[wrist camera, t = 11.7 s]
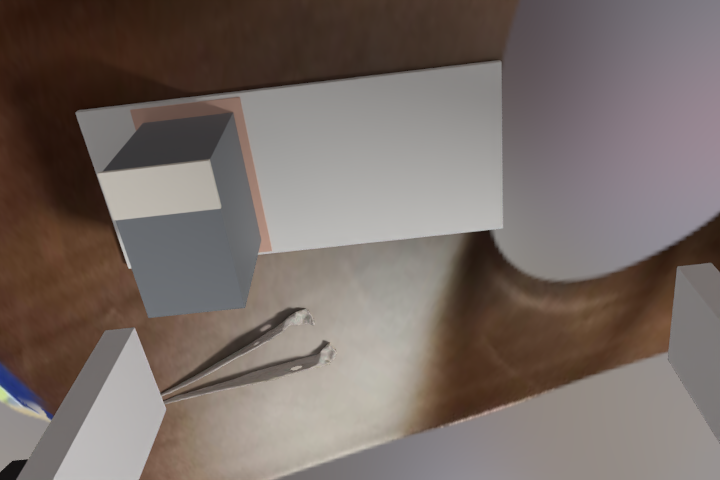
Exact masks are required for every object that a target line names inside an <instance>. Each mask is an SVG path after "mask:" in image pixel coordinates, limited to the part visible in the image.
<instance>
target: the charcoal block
mask: <svg viewBox="0 0 720 480" xmlns="http://www.w3.org/2000/svg"><path fill="white" fill-rule="evenodd" d="M97 175H98V178H99V180H100V183H101V186H102V189H103V192H104V195H105V198H106V201H107V204H108V207H109V210H110V212H111V215H112V218H113V221H116V224H117V227H118V230H119V233H120V236H121V238H122V241H123V244H124V247H125V250H126V253H127V256H128V259H129V262H130V265H131V268H132V271H133V274H134V277H135V279H136V282H137V285H138V288H139V291H140V294H141V297H142V300H143V303H144V306H145V309H146V312H147V315H148V318H152V317H162V316H171V315H181V314H190V313H200V312H209V311H219V310H228V309H238V308H245V306H246V302H247V298H248V293H249V289H250V285H251V281H252V277H253V273H254V269H255V265H256V260H257V256H258V252H259V248H260V244H261V236H260V231H259V227H258V222H257V218H256V213H255V209H254V204H253V200H252V195H251V191H250V186H249V181H248V177H247V172H246V168H245V163H244V159H243V154H242V150H241V145H240V141H239V136H238V132H237V127H236V123H235V118H234V113H233V112H231V113H223V114H214V115H206V116H197V117H189V118H181V119H172V120H164V121H155V122H147V123H142V125H141V126H140V127H139V128H138V129H137V131H136V132H135V133H134V134H133V135H132V137H131V138H130V139H129V140H128V141H127V143H126V144H125V145H124V146H123V147H122V149H121V150H120V151H119V152H118V153H117V155H116V156H115V157H114V158H113V159H112V161H111V162H110V163H109V164H108V165H107V167H106V168H105V169H104V170H103V171H102V172H98V173H97Z"/></svg>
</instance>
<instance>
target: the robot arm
mask: <svg viewBox="0 0 720 480" xmlns="http://www.w3.org/2000/svg"><path fill="white" fill-rule="evenodd" d="M668 361H669V362H670V364H671V365H672V367H673V369H674V370H675V372H676V374H677V375H678V377H679V378H680V380H681V381H682V383H683V385H684V386H685V388H686V390H687V391H688V393H689V395H690V396H691V398H692V399H693V401H694V403H695V404H696V406H697V407H698V409H699V411H700V412H701V414H702V415H703V417H704V419H705V421H706V422H707V424H708V425H709V427H710V429H711V430H712V432H713V433H714V435H715V437H716V438H717V440H718V441H719V443H720V272H719V271H718V270H717V269H716V267H715V266H714V265H713V264H712V263H705V264H696V265H687V266H678V267H677V273H676V283H675V293H674V303H673V313H672V323H671V332H670V342H669V352H668ZM165 412H166V408H165V405H164V402H163V400H162V397H161V395H160V392H159V389H158V387H157V384H156V382H155V379H154V376H153V374H152V371H151V369H150V366H149V364H148V361H147V358H146V356H145V353H144V351H143V348H142V345H141V343H140V340H139V338H138V335H137V333H136V330H135V327H134V328H125V329H116V330H107V331H105V332H104V334H103V335H102V337H101V339H100V340H99V342H98V344H97V345H96V347H95V349H94V350H93V352H92V354H91V355H90V357H89V359H88V360H87V362H86V364H85V365H84V367H83V369H82V370H81V372H80V374H79V375H78V377H77V379H76V380H75V382H74V384H73V385H72V387H71V389H70V390H69V392H68V394H67V395H66V397H65V399H64V401H63V402H62V404H61V406H60V407H59V409H58V411H57V412H56V414H55V416H54V417H53V419H52V421H51V422H50V424H49V426H48V427H47V429H46V431H45V432H44V434H43V436H42V437H41V439H40V441H39V442H38V444H37V446H36V447H35V449H34V451H33V452H32V454H31V456H30V457H29V459H27V460H17V461H12V462H11V463H10V464H9V465H7V466H6V467H5V468H4V469H3V470H2V471H1V472H0V480H139V478H140V475H141V473H142V470H143V468H144V465H145V463H146V460H147V458H148V455H149V453H150V450H151V447H152V445H153V442H154V440H155V437H156V435H157V432H158V430H159V427H160V424H161V422H162V419H163V417H164V414H165Z"/></svg>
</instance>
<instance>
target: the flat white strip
mask: <svg viewBox="0 0 720 480" xmlns="http://www.w3.org/2000/svg"><path fill="white" fill-rule="evenodd" d="M231 112H233V113H234V118H235V123H236V127H237V132H238V136H239V141H240V145H241V150H242V154H243V159H244V163H245V168H246V172H247V177H248V181H249V186H250V191H251V195H252V200H253V204H254V209H255V213H256V218H257V222H258V227H259V231H260V236H261V244H260V248H259V252H258V255H260V254H269V253H279V252H288V251H297V250H307V249H316V248H325V247H334V246H344V245H353V244H362V243H372V242H381V241H390V240H399V239H409V238H418V237H427V236H437V235H446V234H455V233H464V232H474V231H483V230H492V229H502V228H503V174H502V173H503V172H502V171H503V170H502V62H501V61H500V60H496V61H488V62H479V63H471V64H463V65H454V66H446V67H437V68H429V69H421V70H412V71H404V72H395V73H387V74H379V75H370V76H362V77H354V78H345V79H337V80H328V81H320V82H312V83H303V84H295V85H286V86H278V87H270V88H261V89H253V90H244V91H236V92H228V93H219V94H211V95H203V96H194V97H186V98H177V99H169V100H161V101H152V102H144V103H135V104H127V105H119V106H110V107H102V108H93V109H85V110H78V111H77V112H75V114H76V117H77V120H78V122H79V125H80V128H81V131H82V134H83V137H84V140H85V143H86V146H87V149H88V152H89V155H90V157H91V160H92V163H93V166H94V169H95V172H96V175H97V173H98V172H102V171H103V170H104V169H105V168H106V167H107V165H108V164H109V163H110V162H111V161H112V159H113V158H114V157H115V156H116V155H117V153H118V152H119V151H120V150H121V149H122V147H123V146H124V145H125V144H126V143H127V141H128V140H129V139H130V138H131V137H132V135H133V134H134V133H135V132H136V131H137V129H138V128H139V127H140V126H141V125H142V123H147V122H155V121H164V120H172V119H181V118H189V117H197V116H206V115H214V114H223V113H231ZM97 178H98V175H97ZM98 181H99V184H100V187H101V190H102V192H103V189H102V186H101V183H100V180H99V178H98ZM103 195H104V192H103ZM104 198H105V195H104ZM105 201H106V198H105ZM106 204H107V201H106ZM107 207H108V204H107ZM108 210H109V207H108ZM109 213H110V216H111V219H112V222H113V225H114V227H115V230H116V233H117V236H118V239H119V242H120V245H121V248H122V251H123V254H124V257H125V260H126V262H127V265H128V268H129V269H130V268H131V265H130V262H129V259H128V256H127V253H126V250H125V247H124V244H123V241H122V238H121V236H120V233H119V230H118V227H117V224H116V221H113V218H112V215H111V212H110V210H109Z"/></svg>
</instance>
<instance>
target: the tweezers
mask: <svg viewBox="0 0 720 480" xmlns="http://www.w3.org/2000/svg"><path fill="white" fill-rule="evenodd" d="M301 324H311V325H315V322H314V318H312V316H311V313H310V311H309V310H307V309H303V310H300V311H297V312H295V313H293V314H292V315H290V316H289V317H288V318H287V319H286V320H285V321H283V322H282V323H281V324H279V325H278V326H277V327H275V328H274V329H272V330H270V331H269V332H267V333H266V334H264V335H262V336H261V337H259V338H258V339H256V340H255V341H253V342H252V343H250V344H249V345H247V346H245V347H244V348H242V349H240V350H239V351H237V352H235V353H233V354H231V355H230V356H228V357H226V358H225V359H223V360H221V361H219V362H218V363H216V364H214V365H213V366H211V367H209V368H208V369H206V370H204V371H202V372H201V373H199V374H197V375H195V376H194V377H192V378H190V379H188V380H186V381H184V382H182V383H181V384H179V385H177V386H175V387H173V388H171V389H169V390H167V391H165V392H163V393H161V394H160V395H161V397H162V396H164V395H166V394H169V393H171V392H173V391H175V390H177V389H179V388H181V387H184V386H186V385H188V384H190V383H192V382H194V381H196V380H198V379H200V378H202V377H204V376H206V375H208V374H210V373H212V372H214V371H215V370H217V369H219V368H220V367H222V366H224V365H226V364H227V363H229V362H231V361H233V360H234V359H236V358H238V357H240V356H242V355H244V354H246V353H249V352H250V351H252V350H254V349H256V348H258V347H259V346H261V345H263V344H264V343H266V342H268V341H270V340H271V339H273V338H274V337H275V336H277V335H279V334H280V333H283V332H284V331H285V329H286V328H287V327H288V326H290V325H301ZM336 353H337V352H336V350H335V349H334V348H333V347H332V346H331V344H330V342H329V343H328V344H327V345H326V346H325V347H324V348H323V349H322V350H321V352H320V353H319V354H316V355H313V356H309V357H305V358H301V359H298V360H294V361H291V362H287V363H283V364H280V365H276V366H273V367H269V368H266V369H262V370H258V371H255V372H251V373H249V374H246V375H244V376H242V377H239V378H236V379H233V380H230V381H227V382H223V383H219V384H216V385H212V386H209V387H205V388H202V389H199V390H196V391H192V392H189V393H186V394H182V395H177V396H175V397H173V398H170V399H168V400H165V401H163V402H164V404H168V403H171V402H175V401H180V400H183V399H189V398H192V397H197V396H200V395H205V394H209V393H213V392H218V391H222V390H227V389H232V388H237V387H243V386H248V385H253V384H258V383H263V382H268V381H273V380H277V379H279V378H282V377H285V376H288V375H291V374H294V373H298V372H301V371H304V370H309V369H312V368H320V367H322V366H325V365H328V364H330V361H331V360H333V359H334V358H335V356H336ZM295 366H302V368H300V369H298V370H295V371H293V370H290V369H291V368H292V367H295Z"/></svg>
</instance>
